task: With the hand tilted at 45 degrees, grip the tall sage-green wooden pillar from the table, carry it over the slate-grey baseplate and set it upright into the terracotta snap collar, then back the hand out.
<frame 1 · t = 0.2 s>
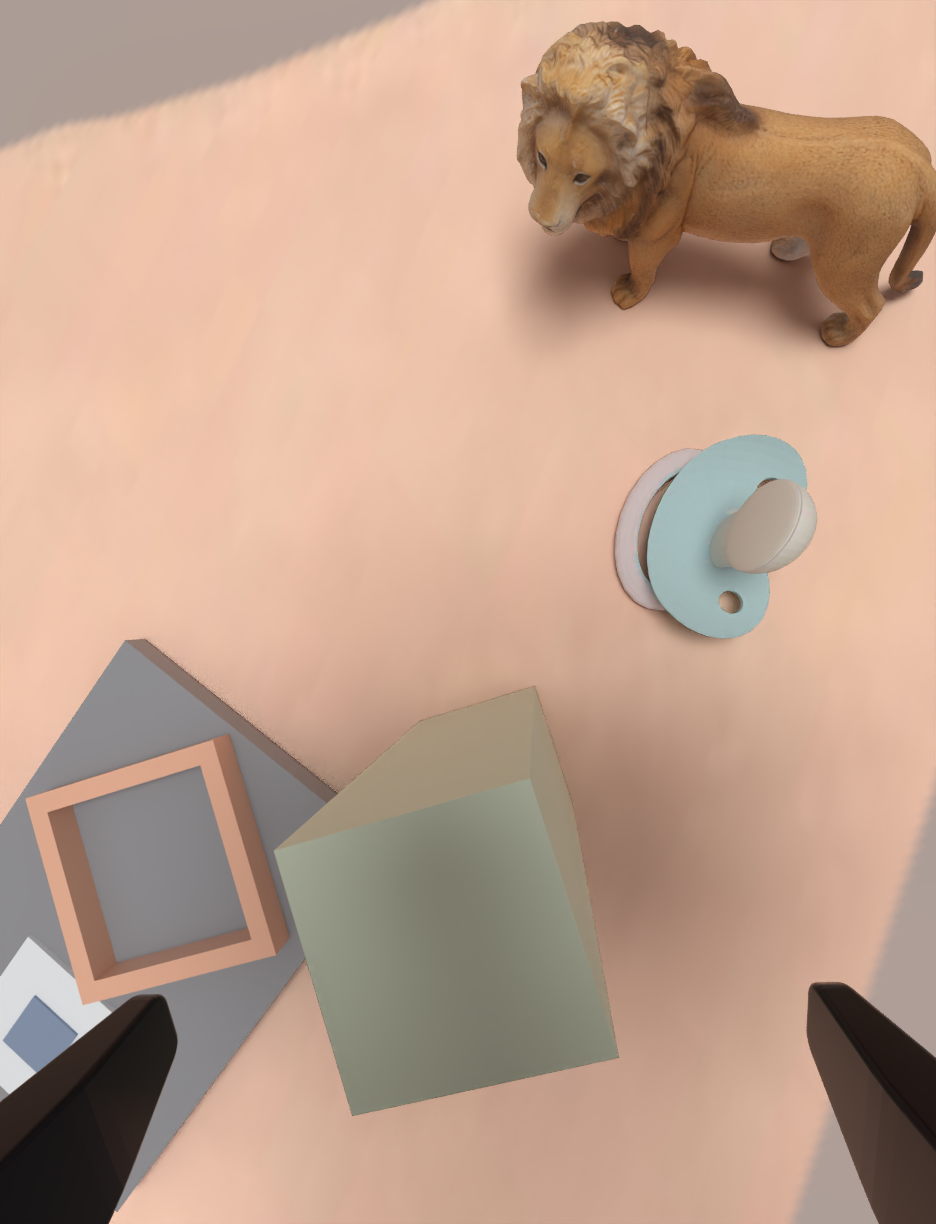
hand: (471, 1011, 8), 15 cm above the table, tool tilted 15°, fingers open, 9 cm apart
pillar: (495, 762, 23), on the table
pacifier: (691, 537, 22), on the table
snap collar: (184, 849, 25), resting on baseplate
lion figurine: (693, 288, 22), on the table
baseplate: (141, 910, 25), on the table
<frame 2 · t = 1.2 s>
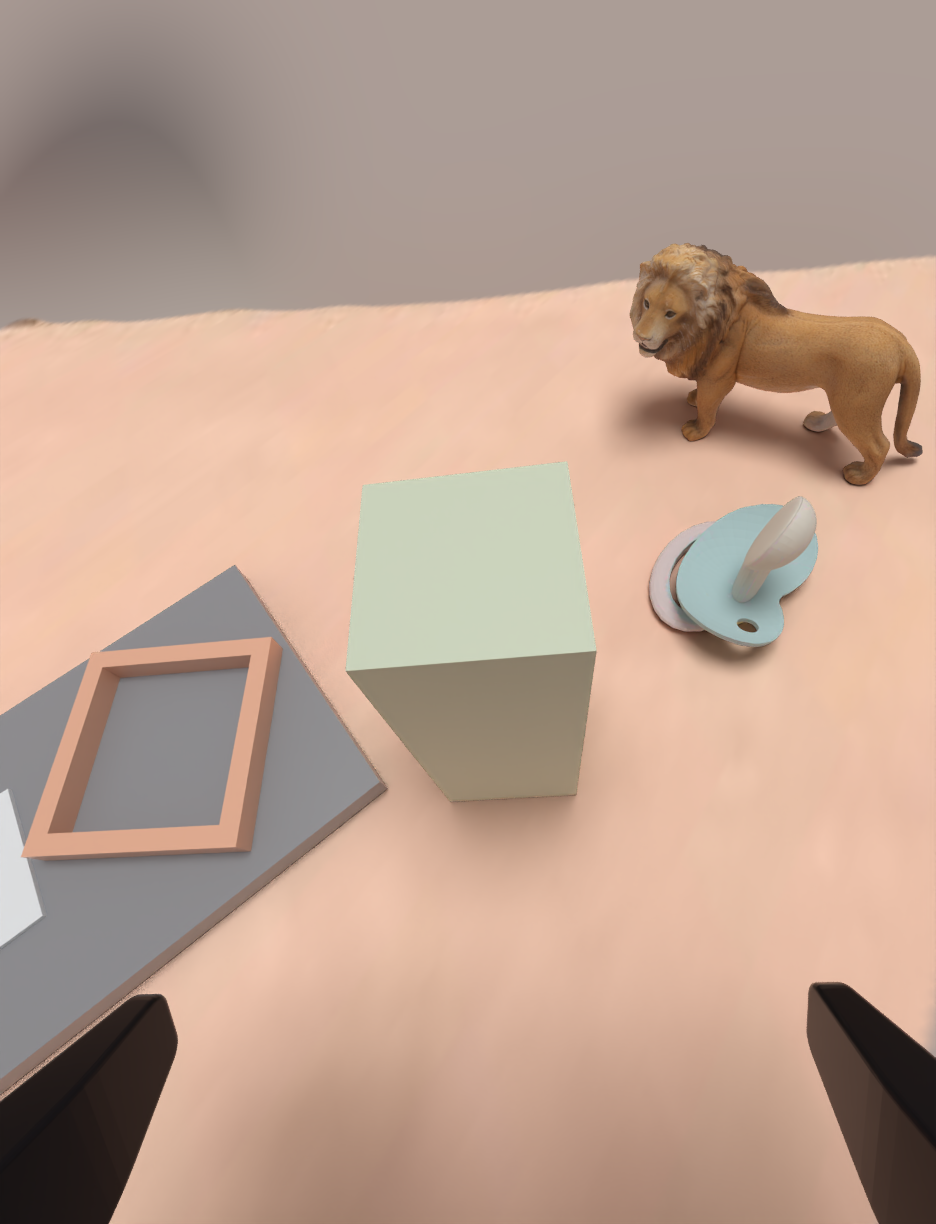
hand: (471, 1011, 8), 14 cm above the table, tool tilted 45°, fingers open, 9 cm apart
pillar: (508, 736, 23), on the table
pacifier: (717, 589, 26), on the table
snap collar: (188, 754, 25), resting on baseplate
lion figurine: (743, 439, 30), on the table
baseplate: (116, 806, 24), on the table
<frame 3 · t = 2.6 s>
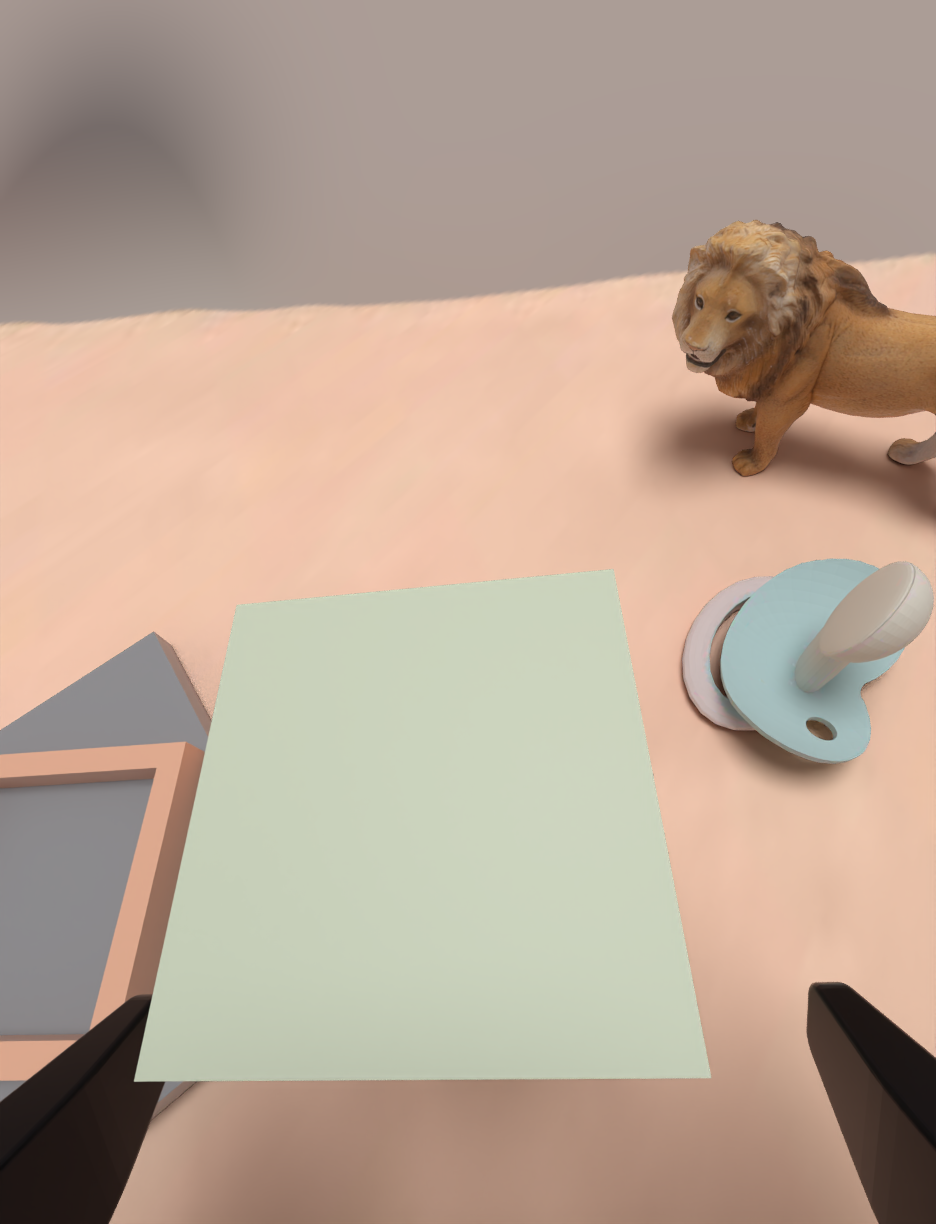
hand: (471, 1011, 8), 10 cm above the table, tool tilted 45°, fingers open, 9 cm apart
pillar: (504, 885, 17), on the table
pacifier: (771, 667, 20), on the table
snap collar: (74, 898, 19), resting on baseplate
lion figurine: (811, 473, 24), on the table
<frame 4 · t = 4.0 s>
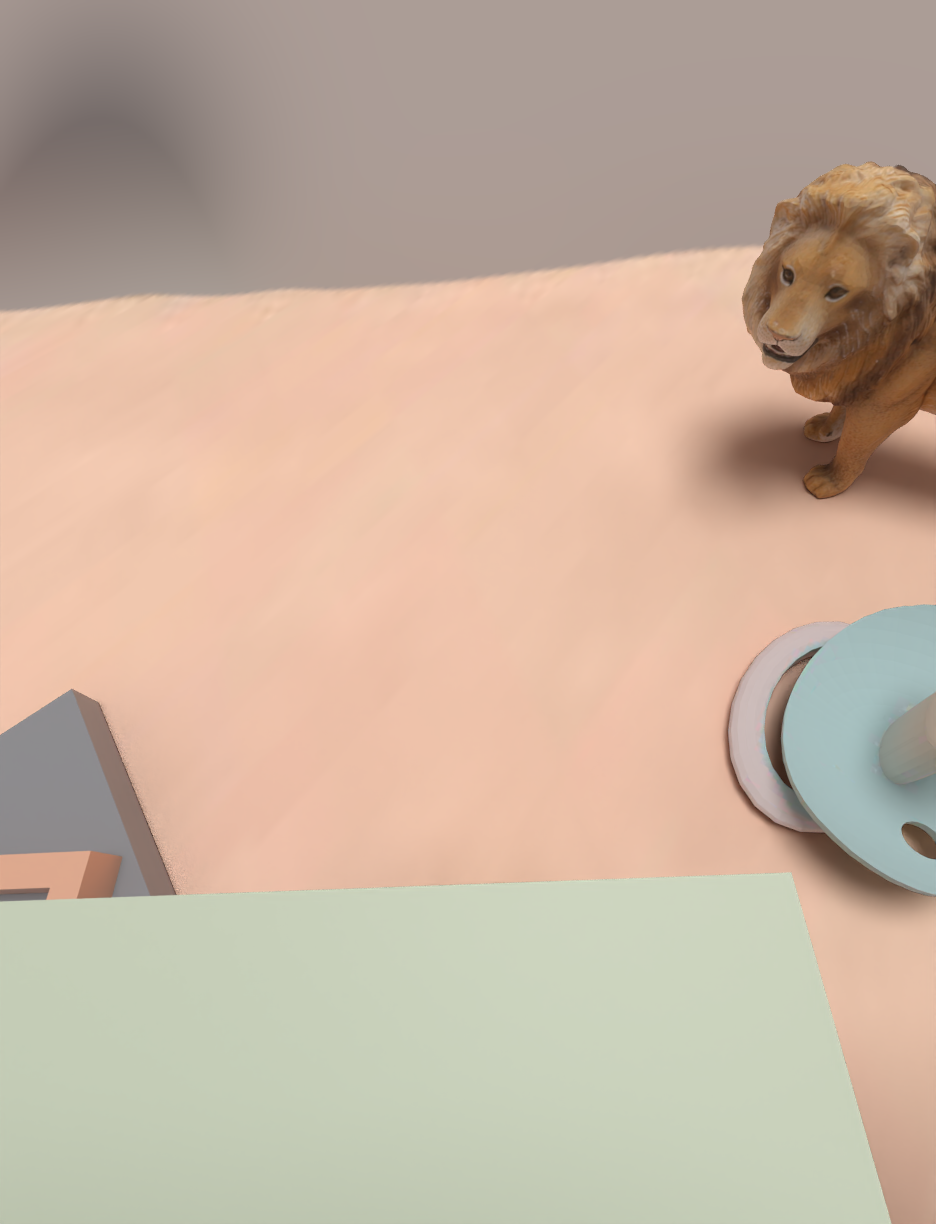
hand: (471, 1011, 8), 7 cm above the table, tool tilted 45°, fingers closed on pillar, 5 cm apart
pillar: (509, 1055, 13), on the table, touching gripper
pacifier: (841, 741, 15), on the table
lion figurine: (903, 494, 19), on the table
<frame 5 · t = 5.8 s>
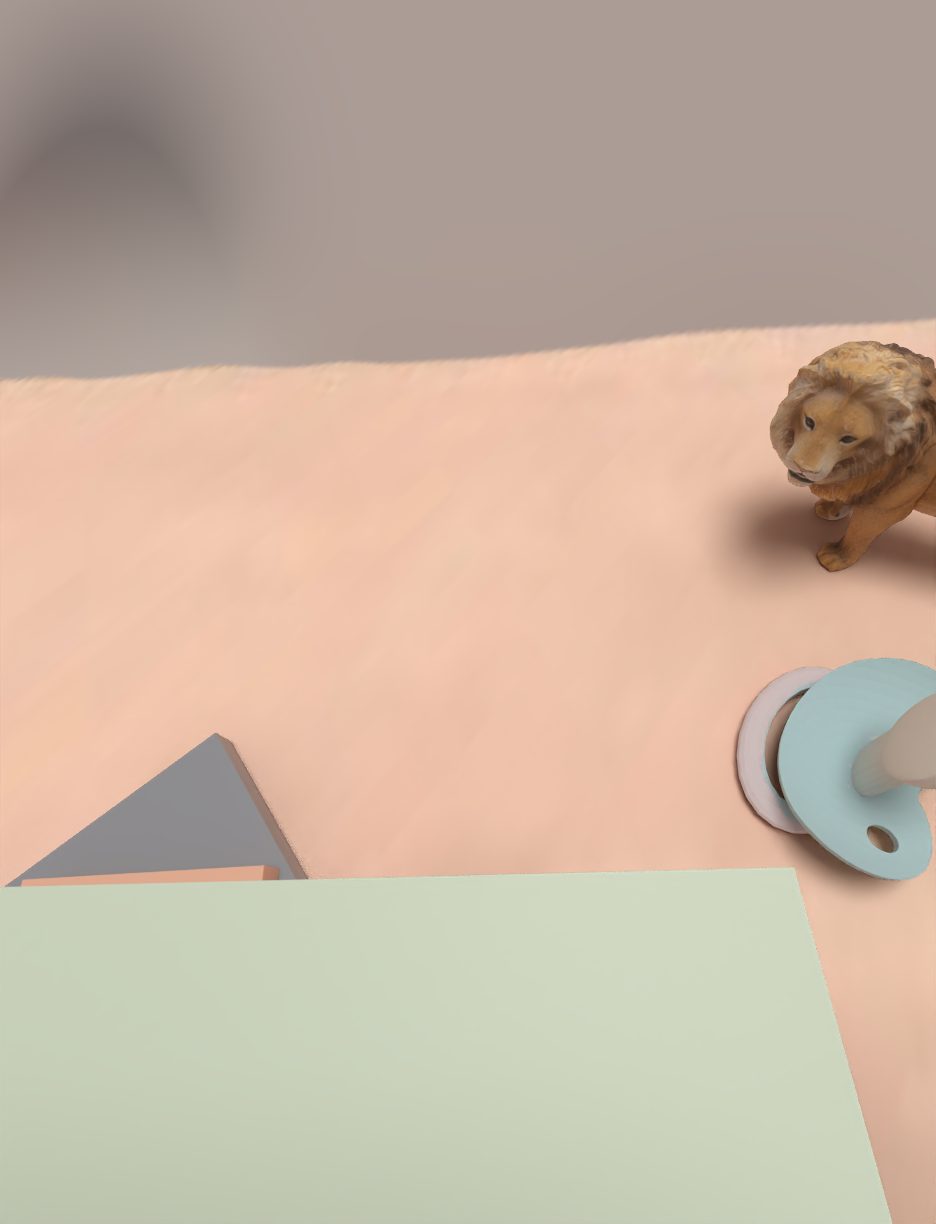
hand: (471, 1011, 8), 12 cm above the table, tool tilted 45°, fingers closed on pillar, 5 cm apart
pillar: (518, 1054, 13), point 5 cm above the table, touching gripper
pacifier: (824, 762, 20), on the table
snap collar: (154, 1021, 19), resting on baseplate
lion figurine: (899, 566, 23), on the table
baseplate: (55, 1103, 18), on the table
when the fingers open (9 cm above the table, at t = 7.7 s): pillar drops 1 cm, resting on baseplate.
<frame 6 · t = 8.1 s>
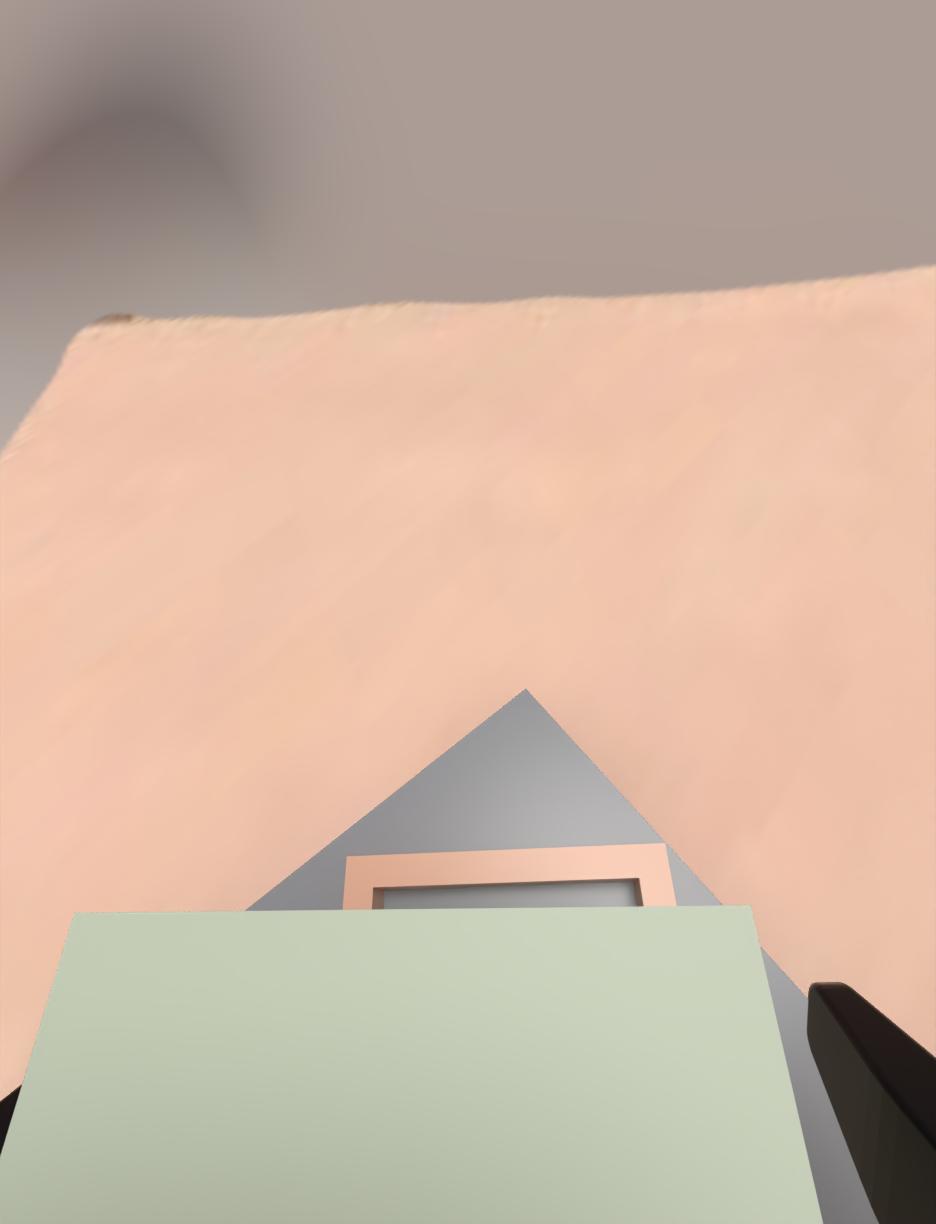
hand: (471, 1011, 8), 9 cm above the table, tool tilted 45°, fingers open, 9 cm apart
pillar: (515, 1043, 14), point 1 cm above the table, touching baseplate
snap collar: (516, 1034, 15), resting on baseplate
baseplate: (411, 1135, 14), on the table
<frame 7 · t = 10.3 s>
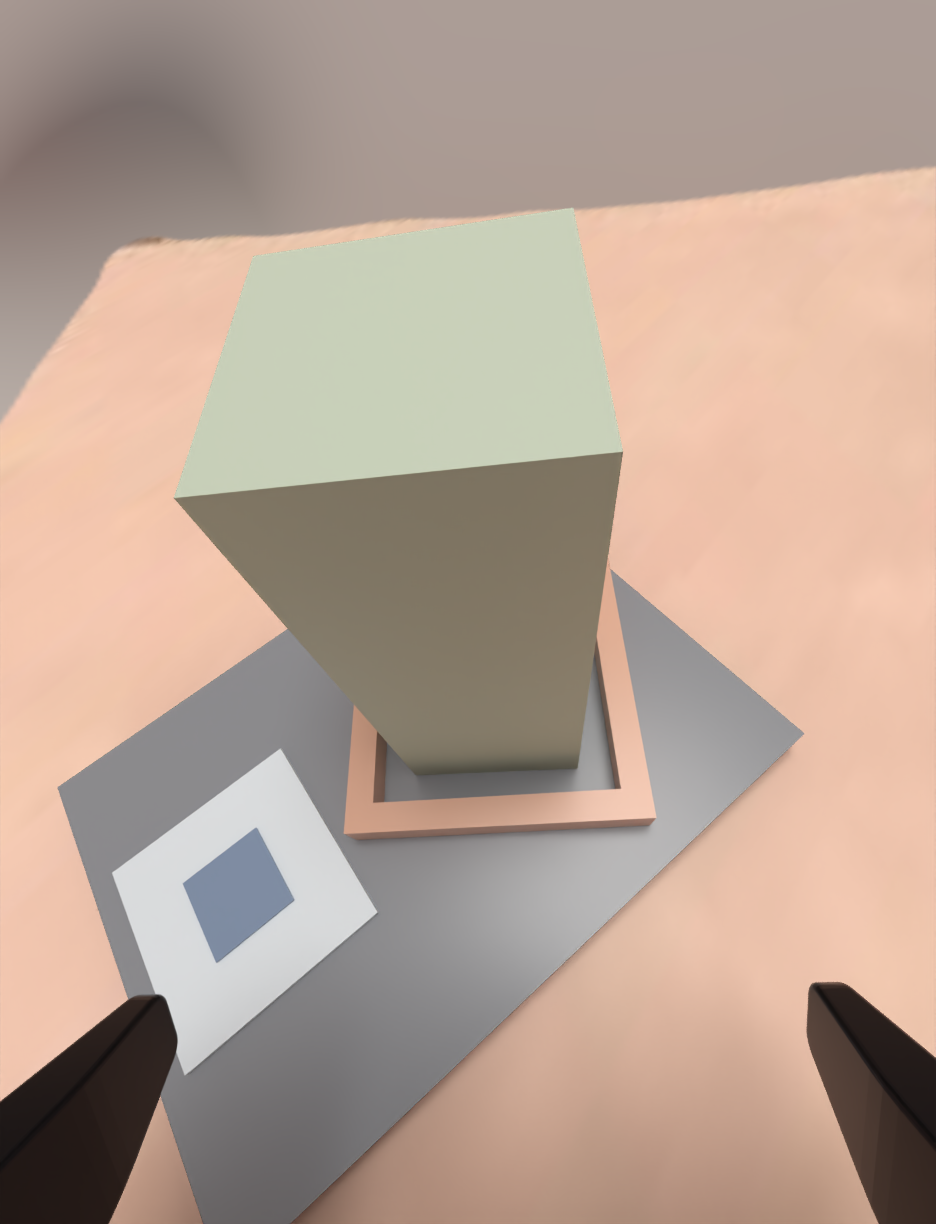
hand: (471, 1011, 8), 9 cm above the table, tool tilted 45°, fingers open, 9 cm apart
pillar: (492, 695, 19), point 1 cm above the table, touching baseplate
snap collar: (495, 707, 20), resting on baseplate
baseplate: (414, 771, 19), on the table
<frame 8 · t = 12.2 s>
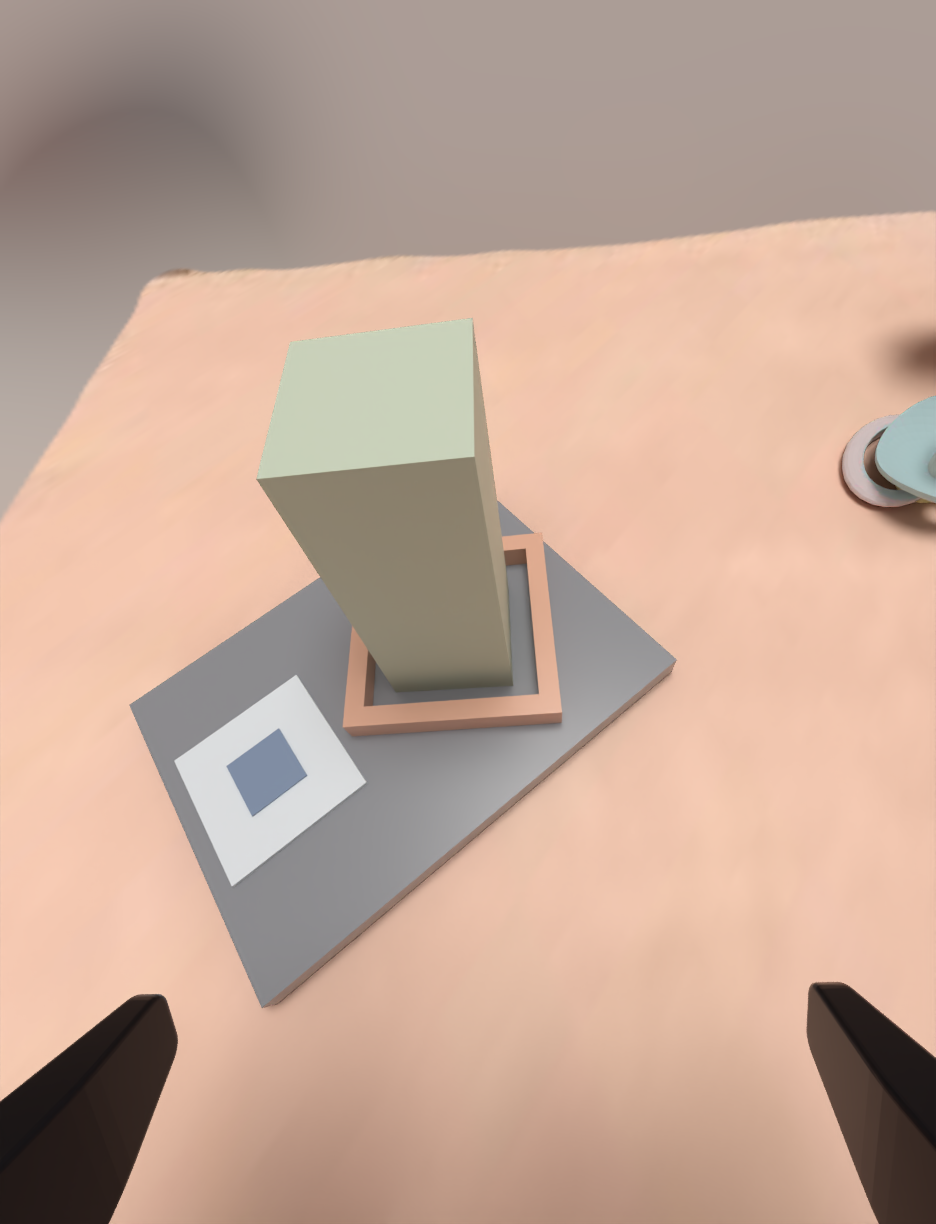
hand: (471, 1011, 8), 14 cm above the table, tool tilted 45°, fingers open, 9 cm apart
pillar: (454, 636, 25), point 1 cm above the table, touching baseplate
pacifier: (905, 474, 28), on the table
snap collar: (457, 647, 26), resting on baseplate
baseplate: (396, 693, 25), on the table
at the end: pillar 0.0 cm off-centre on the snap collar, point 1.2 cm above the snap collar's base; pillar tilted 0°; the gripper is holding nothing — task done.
